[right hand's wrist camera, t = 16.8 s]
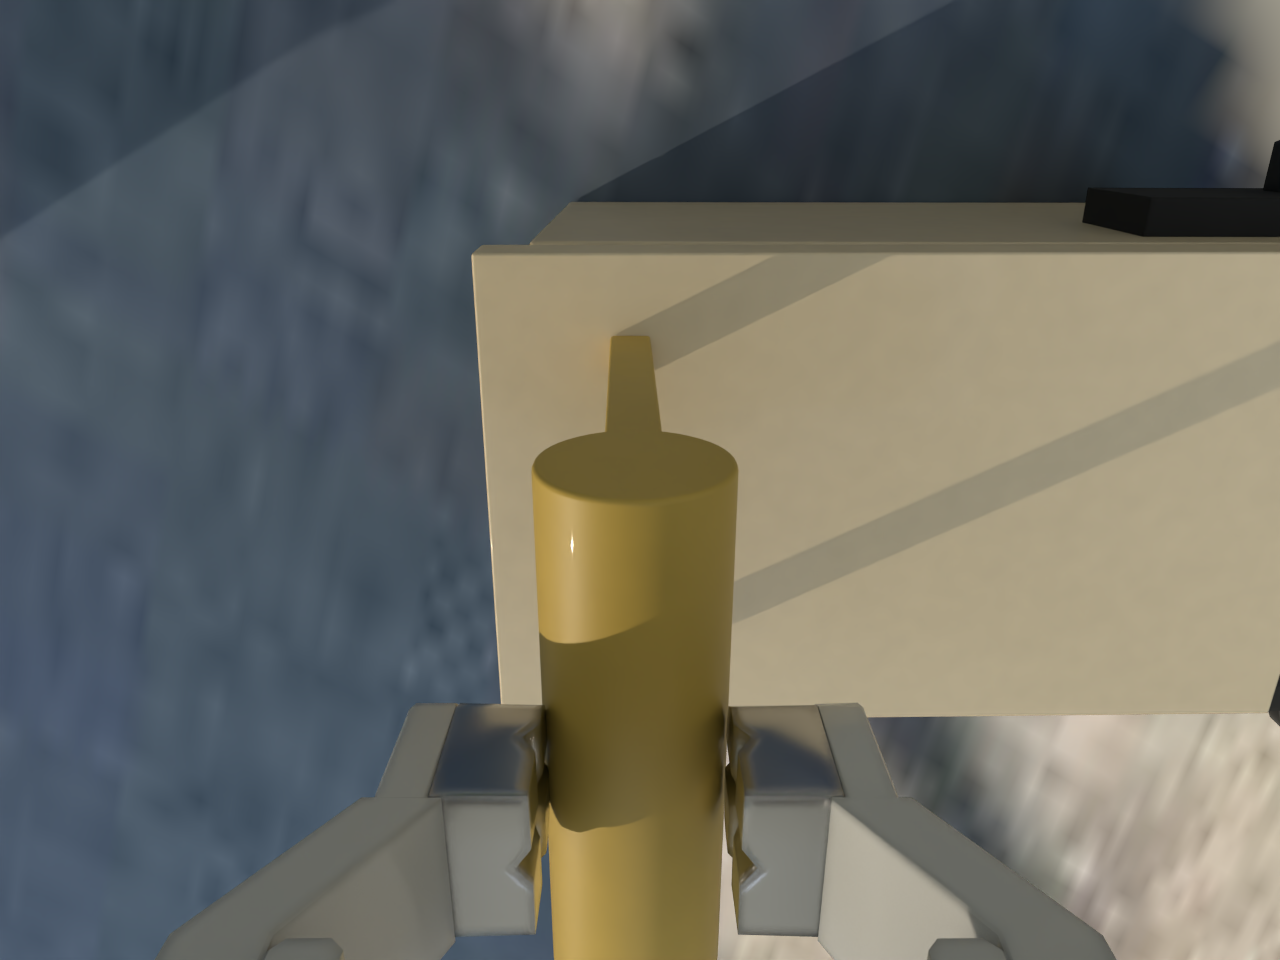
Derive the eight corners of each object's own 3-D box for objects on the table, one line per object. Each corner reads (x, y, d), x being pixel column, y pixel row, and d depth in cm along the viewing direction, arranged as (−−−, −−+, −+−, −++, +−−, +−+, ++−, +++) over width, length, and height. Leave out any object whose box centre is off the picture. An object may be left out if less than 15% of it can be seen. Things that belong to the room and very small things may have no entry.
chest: (577, 515, 29) (546, 675, 20) (568, 201, 25) (528, 241, 17) (1065, 518, 28) (1234, 681, 20) (1124, 202, 25) (1359, 242, 17)
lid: (508, 689, 20) (426, 1099, 12) (480, 244, 16) (333, 371, 8) (1234, 682, 20) (1667, 1079, 12) (1360, 243, 17) (2099, 365, 8)
